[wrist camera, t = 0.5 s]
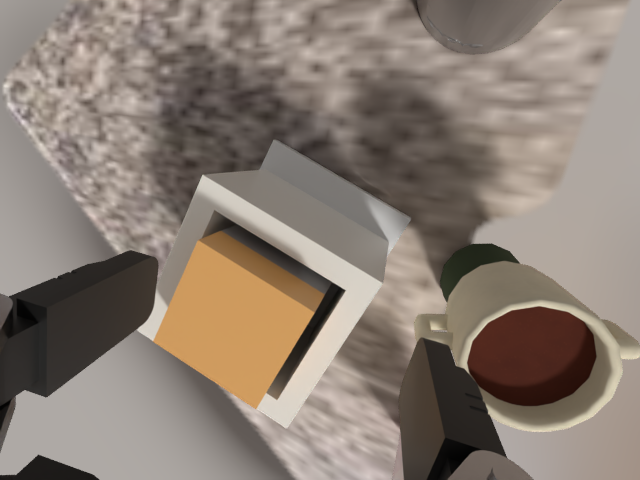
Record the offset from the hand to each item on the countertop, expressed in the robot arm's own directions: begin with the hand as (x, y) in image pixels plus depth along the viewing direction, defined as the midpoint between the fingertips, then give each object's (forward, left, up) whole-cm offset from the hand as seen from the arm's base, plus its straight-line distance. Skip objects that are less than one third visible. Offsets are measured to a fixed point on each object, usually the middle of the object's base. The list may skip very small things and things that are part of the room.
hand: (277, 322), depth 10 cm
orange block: (+7, -3, -15) cm, 16 cm away
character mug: (0, +11, -21) cm, 24 cm away
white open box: (+7, -3, -21) cm, 22 cm away
